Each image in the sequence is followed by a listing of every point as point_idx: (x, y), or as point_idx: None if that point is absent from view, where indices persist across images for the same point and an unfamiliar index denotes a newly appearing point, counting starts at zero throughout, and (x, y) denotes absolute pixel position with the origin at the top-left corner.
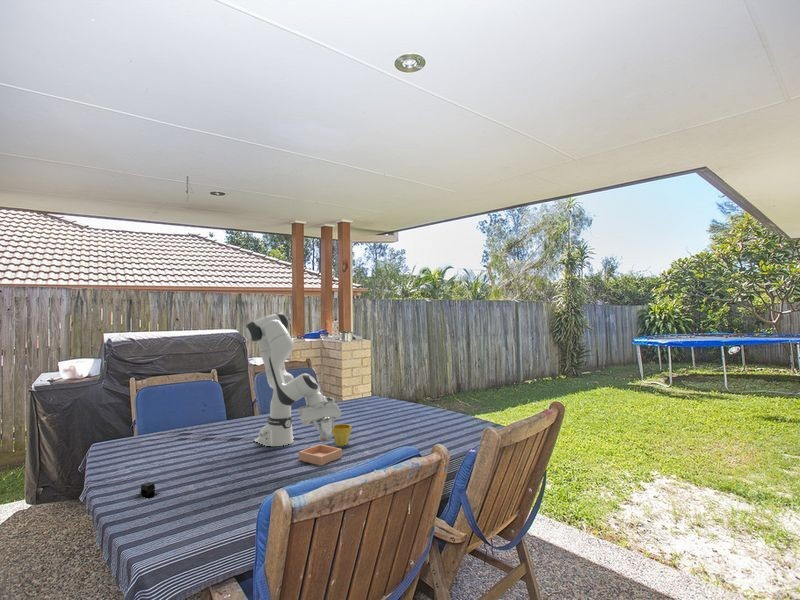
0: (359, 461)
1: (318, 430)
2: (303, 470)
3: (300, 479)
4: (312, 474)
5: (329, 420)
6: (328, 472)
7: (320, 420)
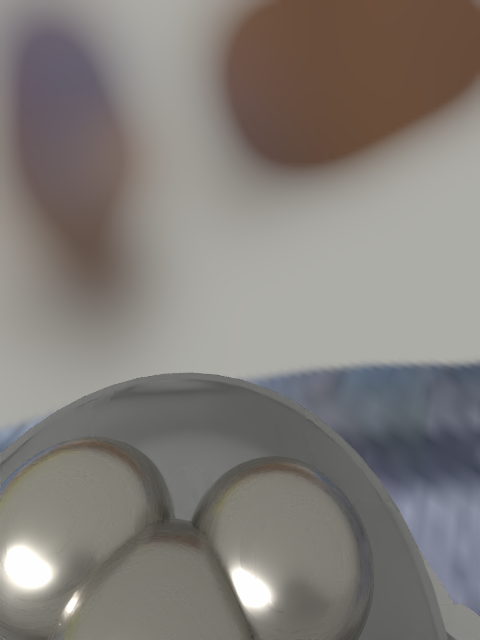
0: (15, 433)
1: None
2: (416, 509)
3: (456, 373)
4: (377, 402)
5: (144, 387)
6: (283, 376)
7: (426, 626)
